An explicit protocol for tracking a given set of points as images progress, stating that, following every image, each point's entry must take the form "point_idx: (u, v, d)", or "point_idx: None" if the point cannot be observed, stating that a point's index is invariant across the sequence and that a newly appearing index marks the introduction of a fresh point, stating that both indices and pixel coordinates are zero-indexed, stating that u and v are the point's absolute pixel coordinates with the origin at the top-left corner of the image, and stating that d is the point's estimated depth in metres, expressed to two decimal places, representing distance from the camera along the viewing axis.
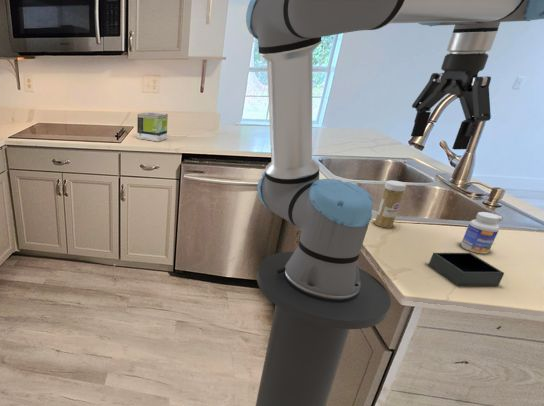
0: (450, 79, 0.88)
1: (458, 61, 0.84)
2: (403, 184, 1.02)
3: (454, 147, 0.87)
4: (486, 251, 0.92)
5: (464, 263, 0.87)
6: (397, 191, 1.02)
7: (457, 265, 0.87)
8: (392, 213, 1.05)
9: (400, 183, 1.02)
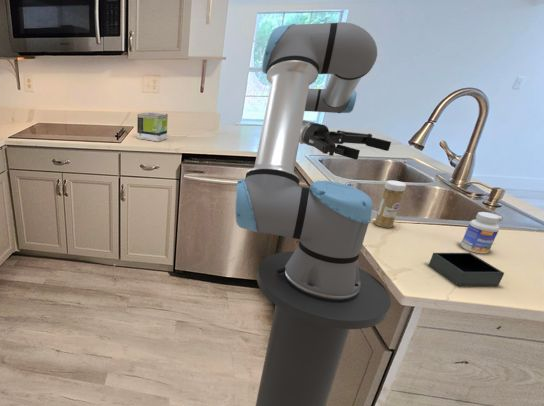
0: None
1: None
2: (403, 184, 1.02)
3: (389, 141, 1.08)
4: (486, 251, 0.92)
5: (464, 263, 0.87)
6: (397, 191, 1.02)
7: (457, 265, 0.87)
8: (392, 213, 1.05)
9: (400, 183, 1.02)
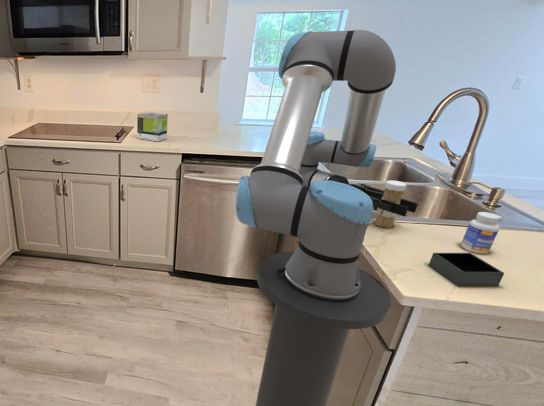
0: None
1: None
2: (403, 184, 1.02)
3: (415, 203, 1.02)
4: (486, 251, 0.92)
5: (464, 263, 0.87)
6: (397, 191, 1.02)
7: (457, 265, 0.87)
8: (392, 213, 1.05)
9: (400, 183, 1.02)
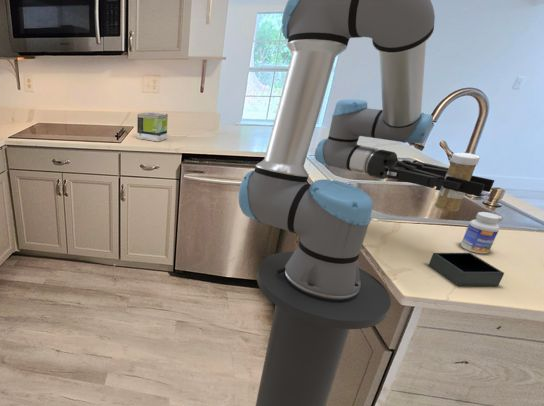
0: None
1: None
2: (476, 156, 0.81)
3: None
4: (486, 251, 0.92)
5: (464, 263, 0.87)
6: (469, 165, 0.82)
7: (457, 265, 0.87)
8: (460, 194, 0.84)
9: (472, 155, 0.82)
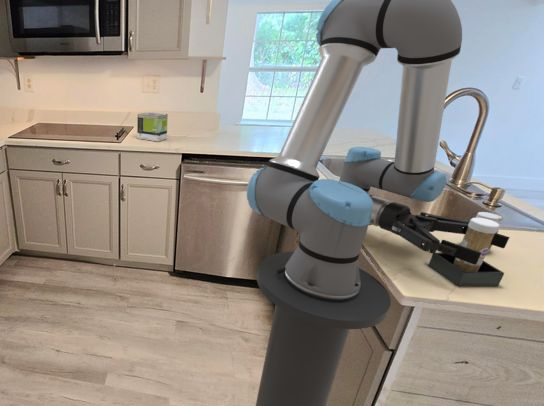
0: None
1: None
2: (496, 224, 0.78)
3: (506, 236, 0.81)
4: None
5: None
6: (488, 233, 0.78)
7: None
8: (478, 261, 0.80)
9: (491, 222, 0.78)
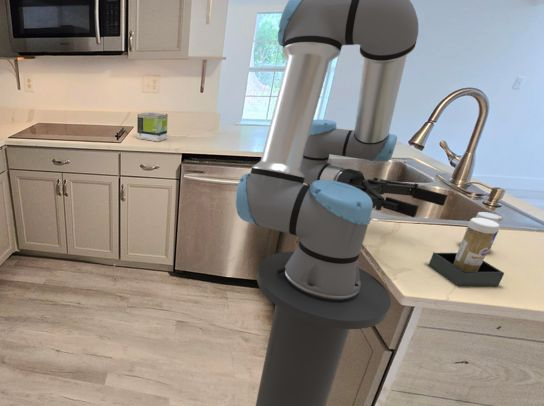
0: None
1: None
2: (496, 224, 0.78)
3: None
4: None
5: None
6: (487, 233, 0.78)
7: None
8: (478, 261, 0.80)
9: (491, 222, 0.78)
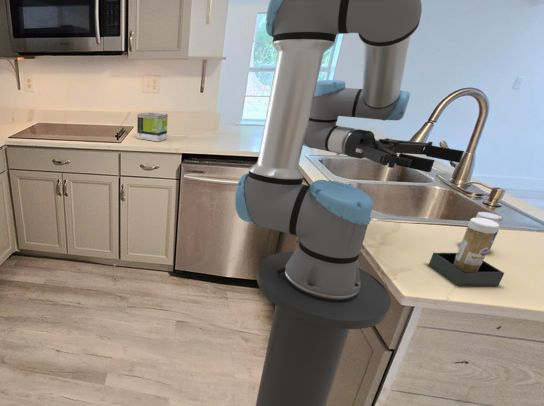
0: None
1: None
2: (496, 224, 0.78)
3: None
4: None
5: None
6: (487, 233, 0.78)
7: None
8: (478, 261, 0.80)
9: (491, 222, 0.78)
